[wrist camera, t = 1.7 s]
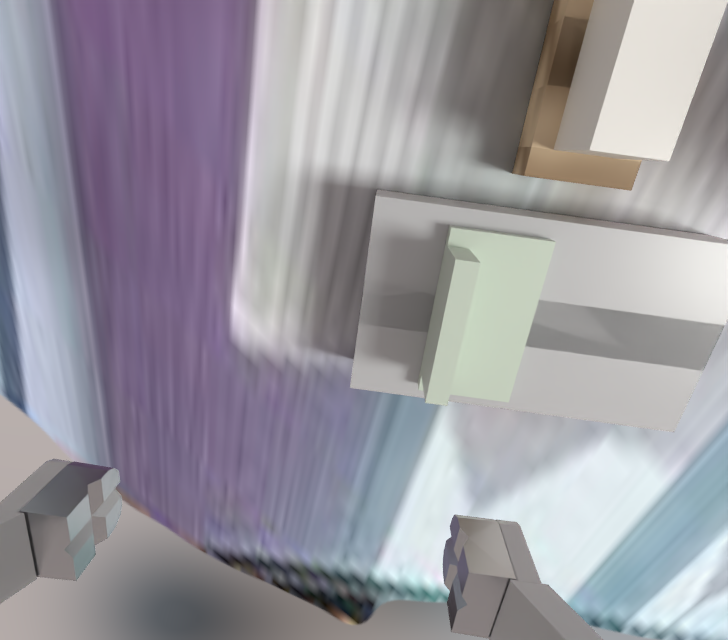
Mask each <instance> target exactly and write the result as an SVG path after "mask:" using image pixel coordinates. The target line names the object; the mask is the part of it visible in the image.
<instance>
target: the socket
mask: <svg viewBox="0 0 728 640" xmlns="http://www.w3.org/2000/svg"><path fill="white" fill-rule="evenodd" d="M449 225H452V226H459V227H466V228H474V229H481V230H488V231H495V232H503V233H510V234H517V235H525V236H532V237H539V238H546V239H551V240H553V241H555V242H556V244H555V247H554V250H553V254H552V257H551V260H550V264H549V267H548V271H547V274H546V277H545V281H544V284H543V288H542V291H541V294H540V298H539V301H538V305H537V308H536V311H535V315H534V318H533V322H532V325H531V328H530V332H529V335H528V339H527V342H526V345H525V349H524V352H523V356H522V359H521V362H520V366H519V369H518V373H517V376H516V379H515V383H514V386H513V389H512V393H511V396H510V400H509V402H502V401H494V400H487V399H480V398H472V397H465V396H458V395H451V394H450V397H449V401H450V402H457V403H465V404H472V405H479V406H487V407H494V408H501V409H508V410H516V411H523V412H530V413H538V414H545V415H552V416H559V417H567V418H574V419H581V420H589V421H596V422H603V423H610V424H618V425H625V426H632V427H639V428H647V429H654V430H661V431H669V432H674V431H675V429H676V427H677V425H678V423H679V421H680V419H681V417H682V414H683V412H684V410H685V408H686V406H687V404H688V402H689V400H690V398H691V396H692V393H693V391H694V389H695V387H696V385H697V383H698V381H699V379H700V377H701V374H702V372H703V370H704V368H705V366H706V364H707V362H708V360H709V358H710V355H711V353H712V351H713V349H714V347H715V345H716V343H717V341H718V339H719V337H720V334H721V332H722V330H723V328H724V326H725V324H726V322H727V320H728V240H726V239H722V238H719V237H715V236H711V235H705V234H698V233H690V232H683V231H676V230H669V229H661V228H654V227H647V226H640V225H632V224H625V223H618V222H611V221H603V220H596V219H589V218H582V217H574V216H567V215H560V214H553V213H545V212H538V211H531V210H524V209H516V208H509V207H502V206H495V205H487V204H480V203H473V202H466V201H458V200H451V199H444V198H437V197H429V196H422V195H415V194H408V193H400V192H393V191H386V190H379V189H377V192H376V197H375V204H374V212H373V219H372V227H371V234H370V242H369V249H368V257H367V264H366V272H365V279H364V287H363V294H362V302H361V309H360V317H359V324H358V332H357V339H356V347H355V354H354V362H353V369H352V377H351V384H350V388H355V389H363V390H370V391H377V392H385V393H392V394H399V395H406V396H414V397H421V398H425V397H424V391H421V390H418V379H419V374H420V369H421V364H422V359H423V354H424V349H425V344H426V339H427V334H428V329H429V324H430V319H431V314H432V309H433V304H434V299H435V294H436V289H437V284H438V279H439V274H440V269H441V264H442V259H443V254H444V249H445V244H446V239H447V234H448V229H449Z"/></svg>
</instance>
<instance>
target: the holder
mask: <svg viewBox="0 0 728 640" xmlns="http://www.w3.org/2000/svg"><path fill="white" fill-rule="evenodd" d="M593 2H594V0H554V3H553V7H552V11H551V15H550V19H549V23H548V27H547V31H546V36H545V40H544V44H543V48H542V52H541V56H540V60H539V64H538V69H537V73H536V77H535V81H534V85H533V89H532V93H531V98H530V102H529V106H528V110H527V114H526V118H525V122H524V126H523V131H522V135H521V139H520V143H519V147H518V151H517V155H516V159H515V164H514V168H513V172H512V173H513V174H518V175H523V176H530V177H537V178H544V179H552V180H559V181H566V182H573V183H581V184H588V185H595V186H602V187H609V188H617V189H624V190H632V187H633V184H634V181H635V178H636V175H637V173H638V170H639V167H640V164H641V161H642V160H632V159H616V158H609V157H601V156H594V155H587V154H580V153H573V152H565V151H558V150H554V146H555V142H556V139H557V135H558V131H559V127H560V124H561V120H562V116H563V113H564V109H565V105H566V102H567V98H568V94H569V91H570V87H571V83H572V79H573V76H574V72H575V68H576V65H577V61H578V57H579V54H580V50H581V46H582V43H583V39H584V35H585V31H586V28H587V24H588V20H589V17H590V13H591V9H592V6H593Z"/></svg>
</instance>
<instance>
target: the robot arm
mask: <svg viewBox="0 0 728 640" xmlns="http://www.w3.org/2000/svg"><path fill="white" fill-rule="evenodd" d="M119 482H120V477H119V470H117V469H115V468H110V467H104V466H98V465H92V464H86V463H80V462H70V461H64V460H58V459H52V460H49V461H46V462H45V463H44V464H43V465H42V466H41V467H39V468H38V469H37V470H36V471H35V472H34V473H33V474H32V475H30V476H29V477H28V478H27V479H26V480H25V481H24V482H23V483H21V484H20V485H19V486H18V487H17V488H16V489H15V490H14V491H13V492H11V493H10V494H9V495H8V496H7V497H6V498H5V499H4V500H2V501H1V502H0V604H1V603H2V602H4V601H5V600H6V599H8V598H9V597H11V596H12V595H14V594H15V593H17V592H19V591H20V590H21V589H23V588H24V587H26V586H27V585H29V584H30V583H32V582H33V581H35V580H36V579H37V577H45V578H54V579H63V580H73V581H77V579H78V578H79V576H80V575H81V574H82V573H83V571H84V570H85V568H86V567H87V566H88V564H89V563H90V562H91V560H92V559H93V558H94V556H95V554H96V553H95V545H97V544H98V543H100V542H102V541H103V540H105V539H107V538H108V537H109V536H110V534H111V533H112V531H113V530H114V528H115V527H116V524H117V522H118V519H119V517H120V514H121V508H122V497H121V495H120V494H119V493H118V492H117V490H116V489H115V487H116V486H117V485H118V484H119ZM450 530H451V536H452V537H451V538H449V539H448V540H447V541H446V544H445V549H444V556H443V576H444V584H445V585H446V587H447V588H448V589H449V590H450V594H449V597H448V601H447V606H448V613H449V620H450V626H451V632H453V633H459V634H465V635H472V636H477V637H483V638H489V640H603V639H602V638H601V637H600V636H599V635H598V634H597V633H596V632H595V631H594V630H593V629H592V628H591V627H590V626H589V625H588V624H587V623H586V622H585V621H584V620H583V619H582V618H581V617H580V616H579V615H578V614H577V613H576V612H575V611H574V610H573V609H572V608H571V607H570V606H569V605H568V604H567V603H566V602H565V601H564V600H563V599H562V598H561V597H560V596H559V595H558V594H557V593H556V592H555V591H554V590H553V589H552V588H551V587H550V586H549V585H546V584H542V583H541V581H540V578H539V575H538V573H537V570H536V567H535V565H534V562H533V559H532V557H531V554H530V551H529V548H528V546H527V543H526V540H525V538H524V535H523V532H522V530H521V527H520V525H519V524H518V523H517V522H511V521H503V520H493V519H485V518H478V517H470V516H462V515H454V517H453V518H452V521H451V525H450Z"/></svg>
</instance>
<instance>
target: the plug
mask: <svg viewBox="0 0 728 640" xmlns="http://www.w3.org/2000/svg"><path fill="white" fill-rule="evenodd" d="M727 3H728V0H594V2H593V6H592V9H591V13H590V17H589V20H588V24H587V28H586V31H585V35H584V39H583V43H582V46H581V50H580V54H579V57H578V61H577V65H576V68H575V72H574V76H573V79H572V83H571V87H570V91H569V94H568V98H567V102H566V105H565V109H564V113H563V116H562V120H561V124H560V127H559V131H558V135H557V139H556V142H555V146H554V150H558V151H565V152H573V153H580V154H587V155H594V156H601V157H609V158H616V159H632V160H654V161H670V158H671V156H672V153H673V150H674V147H675V145H676V142H677V139H678V136H679V134H680V131H681V128H682V126H683V123H684V120H685V117H686V115H687V112H688V109H689V107H690V104H691V101H692V98H693V96H694V93H695V90H696V87H697V85H698V82H699V79H700V77H701V74H702V71H703V68H704V66H705V63H706V60H707V57H708V55H709V52H710V49H711V47H712V44H713V41H714V38H715V36H716V33H717V30H718V27H719V25H720V22H721V19H722V17H723V14H724V11H725V8H726V6H727Z"/></svg>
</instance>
